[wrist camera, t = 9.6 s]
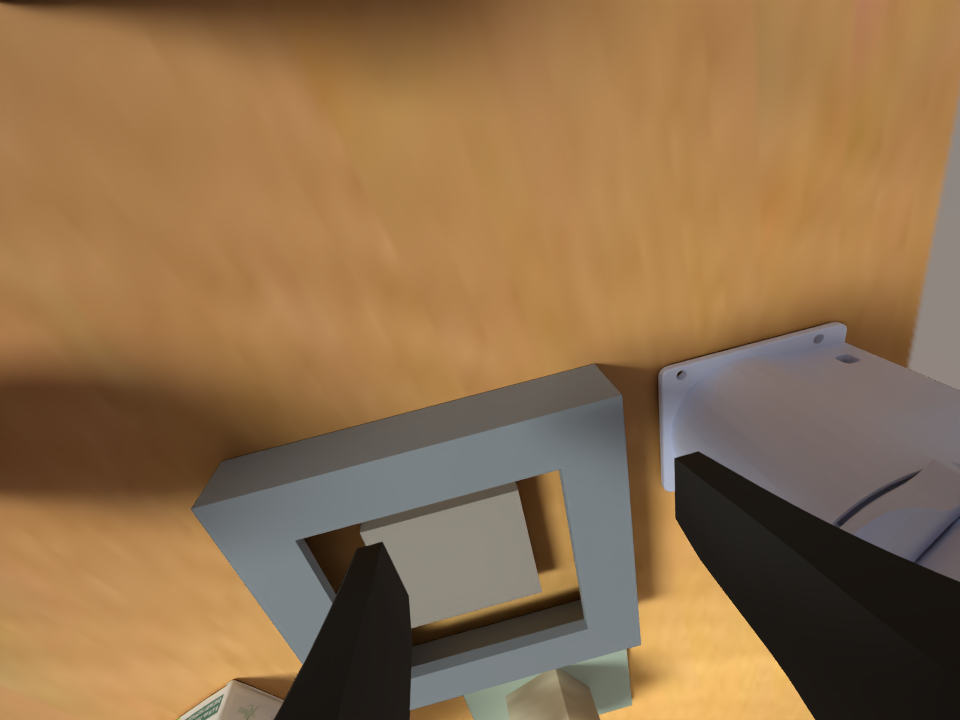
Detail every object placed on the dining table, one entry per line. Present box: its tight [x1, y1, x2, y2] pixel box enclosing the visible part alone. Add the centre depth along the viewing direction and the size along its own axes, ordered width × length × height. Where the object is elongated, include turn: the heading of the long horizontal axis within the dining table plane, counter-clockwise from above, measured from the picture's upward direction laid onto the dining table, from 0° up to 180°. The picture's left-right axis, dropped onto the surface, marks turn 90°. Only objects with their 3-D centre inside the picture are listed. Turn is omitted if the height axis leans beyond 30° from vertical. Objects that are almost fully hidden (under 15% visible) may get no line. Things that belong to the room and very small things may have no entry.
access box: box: [191, 364, 641, 710], centre depth 22 cm, size 18×18×3 cm
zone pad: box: [463, 649, 632, 720], centre depth 31 cm, size 12×10×1 cm
